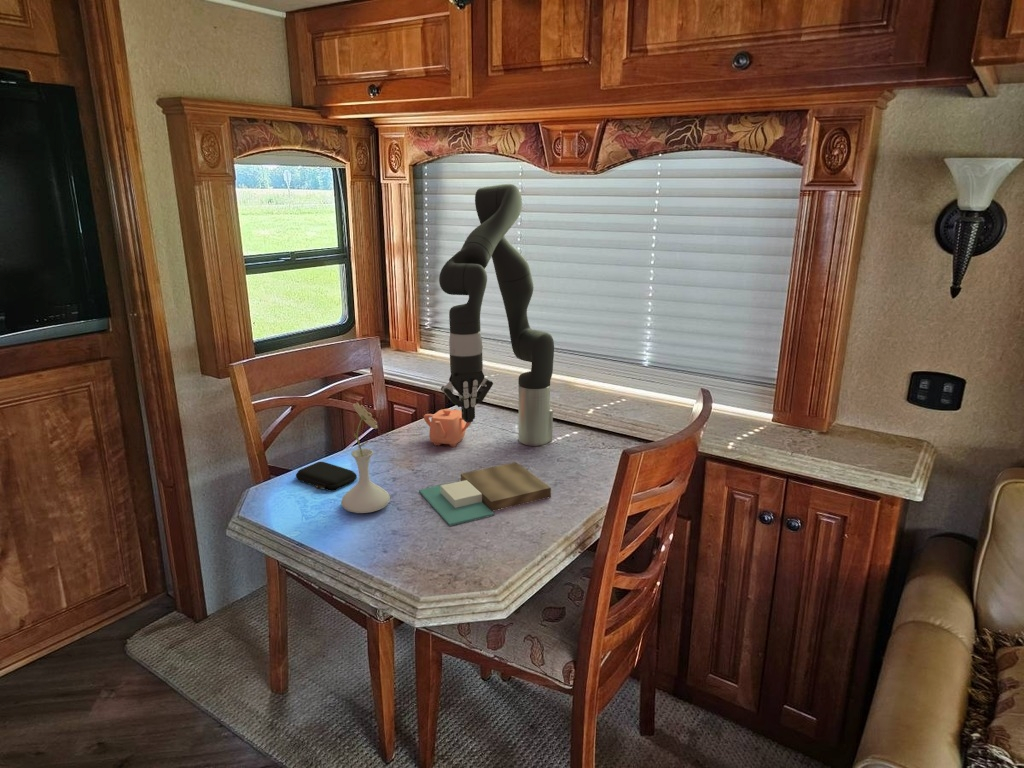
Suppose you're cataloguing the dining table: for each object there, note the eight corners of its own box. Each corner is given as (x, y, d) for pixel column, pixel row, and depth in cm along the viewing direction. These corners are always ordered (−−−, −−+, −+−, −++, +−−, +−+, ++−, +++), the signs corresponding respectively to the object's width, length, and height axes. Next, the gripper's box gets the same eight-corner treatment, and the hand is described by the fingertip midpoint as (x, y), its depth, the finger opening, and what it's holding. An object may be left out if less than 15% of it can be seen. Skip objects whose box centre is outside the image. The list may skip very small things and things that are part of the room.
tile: (466, 487, 170) (466, 479, 170) (482, 501, 163) (482, 493, 162) (440, 493, 167) (440, 485, 167) (455, 507, 160) (454, 500, 159)
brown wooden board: (516, 470, 181) (516, 461, 181) (550, 497, 166) (550, 487, 165) (460, 482, 174) (460, 473, 174) (491, 511, 159) (491, 501, 158)
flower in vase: (393, 514, 158) (387, 411, 151) (342, 521, 155) (334, 417, 148) (386, 490, 170) (380, 395, 163) (339, 496, 167) (331, 399, 160)
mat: (459, 482, 174) (459, 481, 174) (494, 515, 157) (494, 513, 157) (418, 491, 169) (418, 489, 169) (449, 526, 152) (449, 524, 152)
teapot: (421, 437, 206) (420, 405, 203) (458, 431, 210) (457, 400, 207) (436, 453, 193) (435, 419, 190) (475, 447, 198) (475, 414, 195)
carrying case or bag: (289, 482, 176) (328, 496, 168) (288, 471, 175) (328, 485, 167) (321, 468, 184) (360, 481, 176) (320, 458, 183) (359, 470, 175)
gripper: (484, 343, 163) (486, 412, 168) (433, 351, 157) (436, 421, 162) (498, 350, 157) (500, 421, 162) (445, 358, 151) (449, 431, 156)
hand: (468, 421), depth 162 cm, fingers closed
